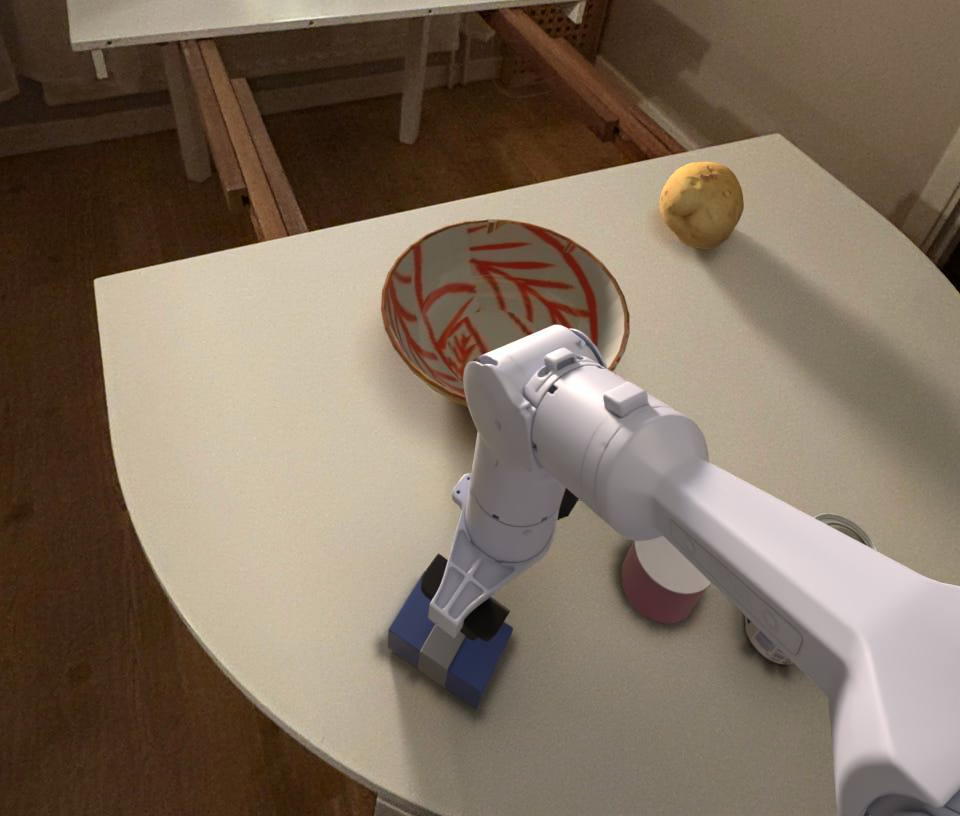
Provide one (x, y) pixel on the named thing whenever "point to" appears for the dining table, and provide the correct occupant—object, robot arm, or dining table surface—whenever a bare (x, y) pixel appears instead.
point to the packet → (446, 650)
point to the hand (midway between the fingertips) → (494, 580)
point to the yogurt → (661, 581)
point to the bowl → (495, 297)
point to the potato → (702, 204)
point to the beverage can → (756, 635)
